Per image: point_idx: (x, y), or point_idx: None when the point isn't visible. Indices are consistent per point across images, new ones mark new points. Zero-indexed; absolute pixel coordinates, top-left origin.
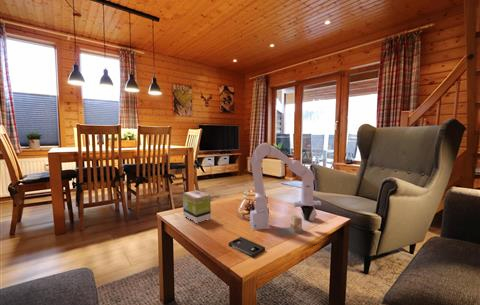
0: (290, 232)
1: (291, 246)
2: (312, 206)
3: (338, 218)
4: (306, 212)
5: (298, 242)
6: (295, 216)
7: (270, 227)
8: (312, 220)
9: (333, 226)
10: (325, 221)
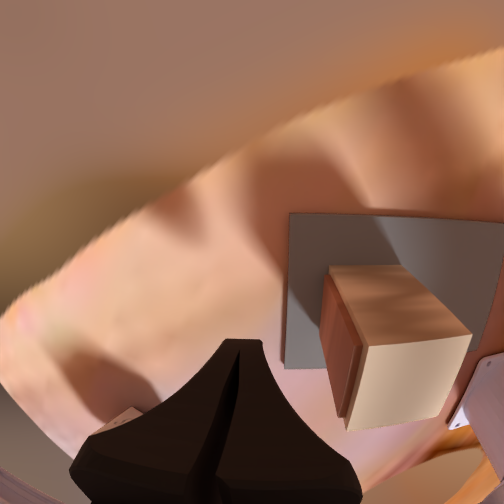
0: (424, 273)
1: (490, 75)
2: (96, 501)
3: (3, 371)
4: (280, 420)
5: (436, 98)
6: (403, 402)
7: (483, 364)
8: (134, 411)
9: (30, 298)
10: (59, 375)
